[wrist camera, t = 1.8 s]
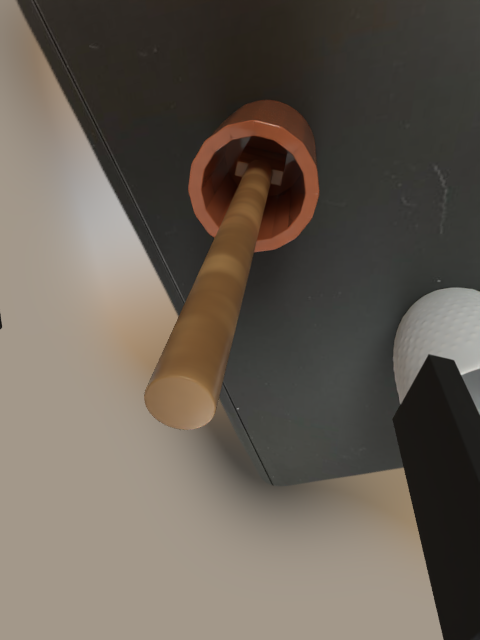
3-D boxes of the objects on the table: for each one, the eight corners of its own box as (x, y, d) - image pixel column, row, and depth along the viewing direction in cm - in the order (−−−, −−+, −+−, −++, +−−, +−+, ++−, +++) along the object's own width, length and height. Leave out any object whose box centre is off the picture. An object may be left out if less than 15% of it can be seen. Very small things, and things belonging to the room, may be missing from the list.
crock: (226, 88, 32) (198, 106, 23) (328, 112, 32) (336, 139, 23) (210, 190, 36) (181, 236, 28) (300, 211, 36) (298, 264, 28)
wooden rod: (242, 163, 34) (114, 414, 11) (246, 139, 33) (117, 361, 10) (282, 173, 34) (236, 443, 11) (288, 149, 33) (250, 393, 10)
